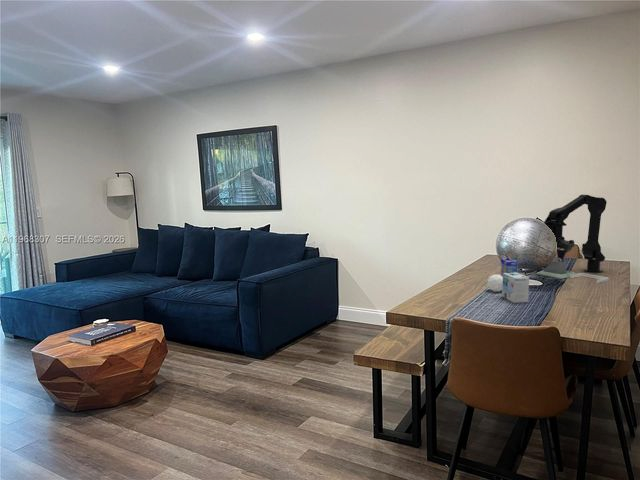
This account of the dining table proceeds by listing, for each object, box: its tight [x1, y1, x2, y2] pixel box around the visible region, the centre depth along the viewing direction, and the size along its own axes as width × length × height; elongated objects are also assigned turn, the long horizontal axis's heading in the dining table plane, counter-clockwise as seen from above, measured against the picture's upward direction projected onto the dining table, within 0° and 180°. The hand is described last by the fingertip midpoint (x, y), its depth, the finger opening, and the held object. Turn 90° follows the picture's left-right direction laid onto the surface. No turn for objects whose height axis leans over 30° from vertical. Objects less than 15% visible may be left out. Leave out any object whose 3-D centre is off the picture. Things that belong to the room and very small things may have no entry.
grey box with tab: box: [543, 257, 567, 275], centre depth 243 cm, size 5×9×9 cm, turn 28°
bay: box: [569, 272, 610, 284], centre depth 232 cm, size 10×14×2 cm
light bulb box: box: [501, 272, 530, 304], centre depth 199 cm, size 11×7×11 cm, turn 5°
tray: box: [534, 270, 576, 280], centre depth 244 cm, size 11×15×2 cm
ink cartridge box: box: [500, 254, 519, 277], centre depth 225 cm, size 10×6×14 cm, turn 174°
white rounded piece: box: [487, 274, 503, 293], centre depth 212 cm, size 8×8×12 cm
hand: (554, 264), depth 243 cm, fingers open, 9 cm apart
